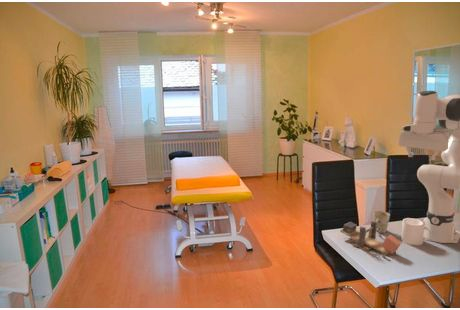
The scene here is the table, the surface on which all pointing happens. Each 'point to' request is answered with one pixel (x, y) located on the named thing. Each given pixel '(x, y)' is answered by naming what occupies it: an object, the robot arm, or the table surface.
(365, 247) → the stand
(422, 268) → the table surface
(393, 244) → the salmon red rectangular block
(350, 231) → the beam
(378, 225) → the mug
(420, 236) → the mug
